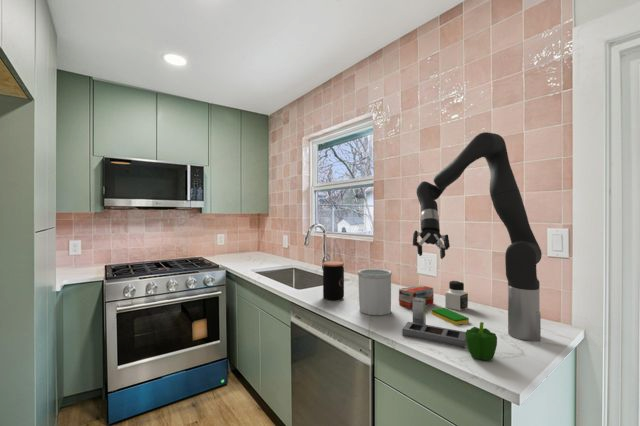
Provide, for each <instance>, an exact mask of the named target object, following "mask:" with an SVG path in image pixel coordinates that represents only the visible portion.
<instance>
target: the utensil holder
mask: <svg viewBox="0 0 640 426" xmlns="http://www.w3.org/2000/svg"><path fill="white" fill-rule="evenodd" d="M357 275H358V277H357V278H358V301H359V303H358V304H359V305H358V306H359V311H360V312H361V313H362V314H365V315H369V316H386V315H388V314H390V313H392V312H391V311H392V276H393V275H392V271H391V270H389V269H384V268H363V269H359V270H357Z"/></svg>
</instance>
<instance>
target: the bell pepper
mask: <svg viewBox="0 0 640 426" xmlns="http://www.w3.org/2000/svg"><path fill="white" fill-rule="evenodd" d="M484 326H485V325H484V322H483V321H480V322H479V327H477V326H473V327H471V328H470V329H467V330H466V331H465V332H466V333H465V337H466V347H467V351H468V353H469V354H470V356H471V357H472V358H473V359H476V360H483V361H487V362H489V361H492V360H493V359H494V357H495V354H496V351H497V346H498V337H497V335H496V333H494V332H491V331H490V330H489V329H488V328H485V327H484Z"/></svg>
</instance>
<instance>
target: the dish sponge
mask: <svg viewBox="0 0 640 426" xmlns="http://www.w3.org/2000/svg"><path fill="white" fill-rule="evenodd" d="M430 314H431V315H433V316H435V317H436V318H439V319H441V320H443V321H446V323H450V324H452V325H453V326H459V325H465V324H469V323H470V320H469V317H467V316H466V315H463V314H460V313H458V312H455V311H454V310H451V309H450V308H446V307H440V308H433V309H431V313H430Z"/></svg>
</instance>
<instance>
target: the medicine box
mask: <svg viewBox="0 0 640 426" xmlns="http://www.w3.org/2000/svg"><path fill="white" fill-rule="evenodd" d="M415 297H416V298H423V299H426V307H427V306H431V305H433V304H434V300H435V299H434V287H431V286H426V285H422V284H417V285H412V286H407V287H401V288H398V302H399V306H402V307H405V308H408V309H410V310H413V301H412V300H413V299H414V298H415Z"/></svg>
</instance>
